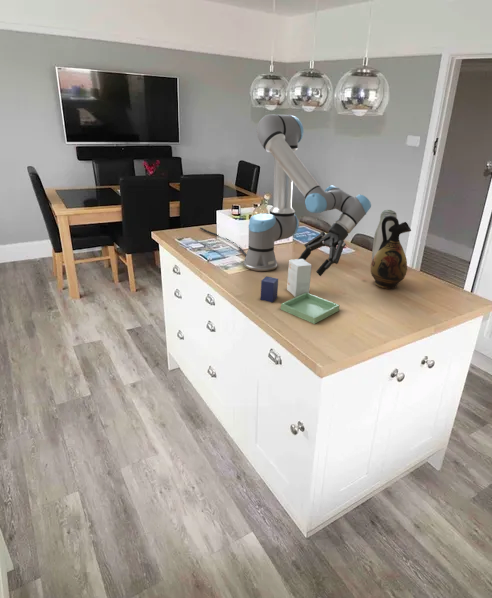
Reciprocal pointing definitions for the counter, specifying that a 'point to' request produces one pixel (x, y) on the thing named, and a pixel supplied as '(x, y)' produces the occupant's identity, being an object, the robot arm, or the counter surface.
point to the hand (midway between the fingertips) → (308, 268)
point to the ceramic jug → (390, 256)
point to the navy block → (269, 289)
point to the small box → (299, 277)
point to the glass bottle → (378, 234)
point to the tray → (310, 307)
